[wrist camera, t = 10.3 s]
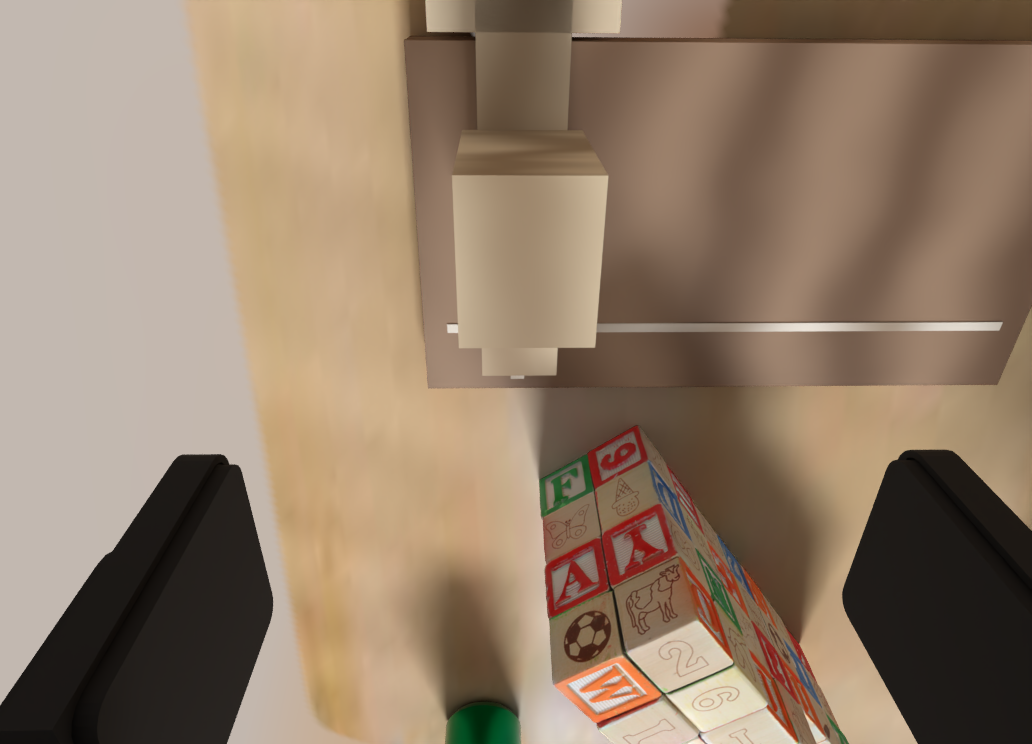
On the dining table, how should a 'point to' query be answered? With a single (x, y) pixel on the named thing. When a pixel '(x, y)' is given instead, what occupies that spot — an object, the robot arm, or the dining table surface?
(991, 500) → the robot arm
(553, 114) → the beige block
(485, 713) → the soda can
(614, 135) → the board
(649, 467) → the stack of blocks
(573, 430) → the dining table surface
